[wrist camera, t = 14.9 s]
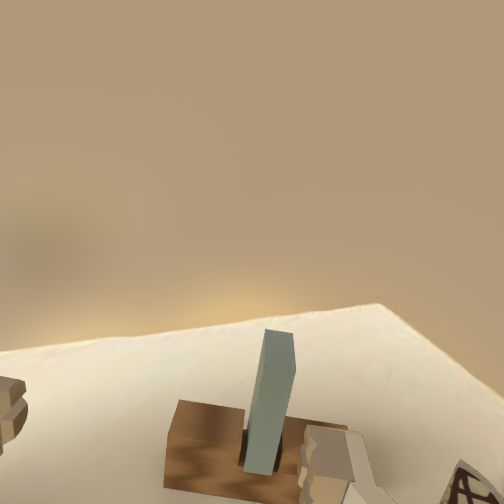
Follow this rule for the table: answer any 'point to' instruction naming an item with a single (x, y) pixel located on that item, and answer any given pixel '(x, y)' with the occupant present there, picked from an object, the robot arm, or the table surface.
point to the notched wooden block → (230, 455)
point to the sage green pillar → (269, 401)
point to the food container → (470, 488)
